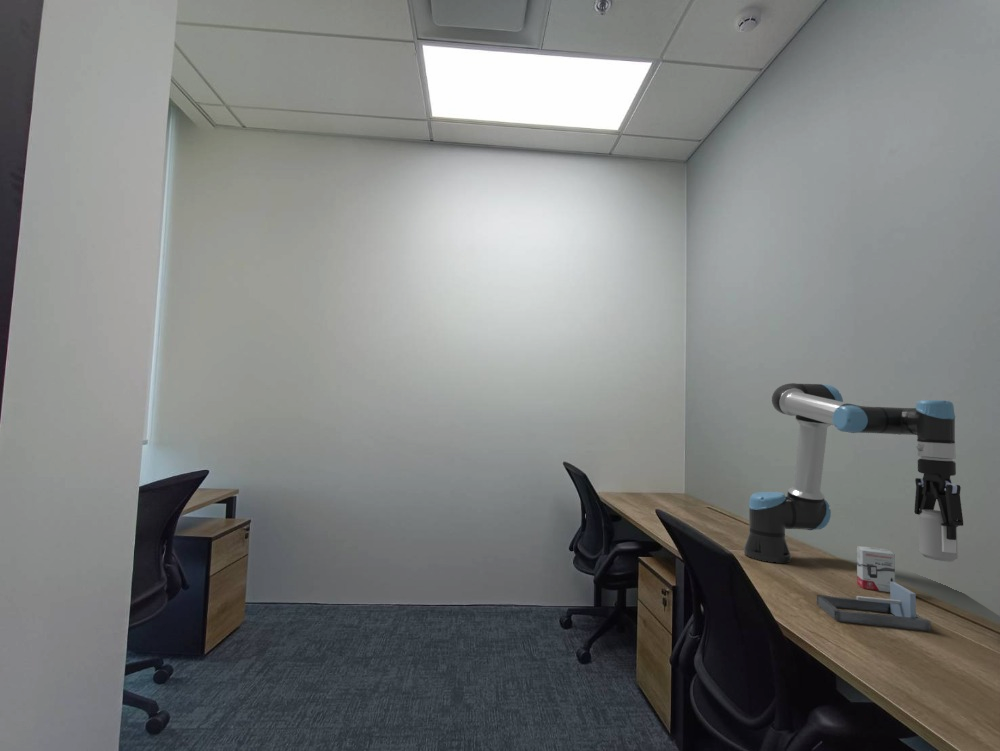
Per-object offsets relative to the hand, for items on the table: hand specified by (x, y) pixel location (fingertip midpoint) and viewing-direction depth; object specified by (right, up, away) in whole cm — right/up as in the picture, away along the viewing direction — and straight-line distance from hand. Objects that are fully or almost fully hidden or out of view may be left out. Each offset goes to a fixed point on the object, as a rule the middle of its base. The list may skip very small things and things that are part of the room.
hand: (938, 547), depth 129 cm
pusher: (-14, -19, +1) cm, 23 cm away
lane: (-16, -19, +2) cm, 25 cm away
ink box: (+2, -21, +25) cm, 33 cm away
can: (0, -3, 0) cm, 3 cm away
